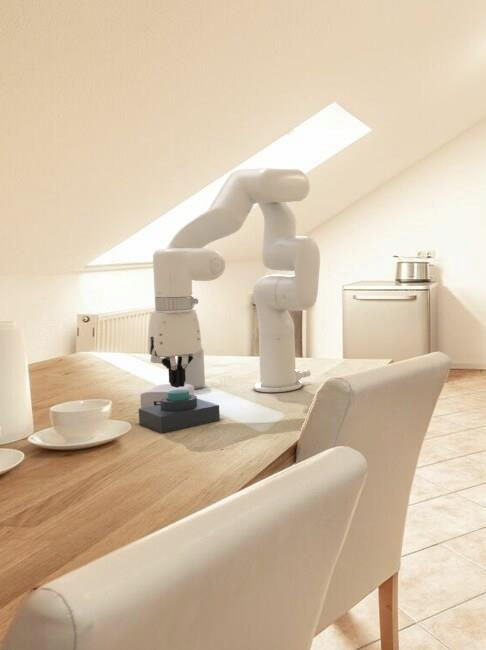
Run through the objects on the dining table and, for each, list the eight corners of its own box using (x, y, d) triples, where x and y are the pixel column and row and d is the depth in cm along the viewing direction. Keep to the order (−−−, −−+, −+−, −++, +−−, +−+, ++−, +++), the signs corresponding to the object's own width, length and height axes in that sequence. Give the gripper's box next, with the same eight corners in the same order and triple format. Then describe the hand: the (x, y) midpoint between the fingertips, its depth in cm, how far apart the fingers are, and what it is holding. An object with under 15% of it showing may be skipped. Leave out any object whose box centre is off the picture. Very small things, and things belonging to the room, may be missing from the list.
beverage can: (209, 387, 178) (208, 345, 176) (188, 391, 172) (186, 348, 171) (196, 384, 181) (194, 343, 180) (175, 388, 176) (173, 346, 175)
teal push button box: (196, 412, 150) (195, 389, 150) (219, 420, 144) (218, 396, 143) (139, 424, 140) (137, 399, 140) (161, 433, 134) (160, 407, 133)
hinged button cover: (203, 396, 166) (180, 411, 151) (167, 397, 166) (141, 411, 151) (202, 378, 166) (179, 391, 151) (166, 379, 165) (140, 392, 150)
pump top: (183, 396, 145) (183, 388, 144) (193, 399, 142) (192, 391, 142) (164, 400, 141) (164, 391, 141) (173, 403, 138) (173, 394, 138)
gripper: (198, 302, 147) (201, 379, 149) (131, 306, 136) (135, 389, 138) (215, 303, 143) (217, 383, 144) (146, 308, 131) (150, 394, 133)
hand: (177, 386), depth 141 cm, fingers closed
